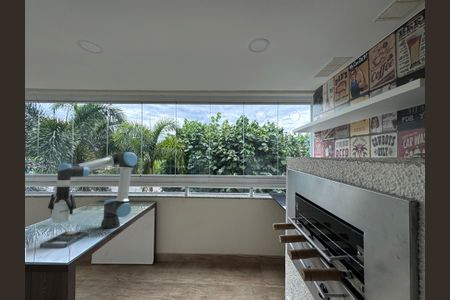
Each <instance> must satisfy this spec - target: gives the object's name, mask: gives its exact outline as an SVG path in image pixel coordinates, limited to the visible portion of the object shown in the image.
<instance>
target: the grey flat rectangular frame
mask: <svg viewBox="0 0 450 300" xmlns="http://www.w3.org/2000/svg"><path fill="white" fill-rule="evenodd" d="M70 231H71V230H70ZM70 231H68V230H67V231H64V232H62V233H59V234H58V235H55V236H53V237H52V238H49V239H47V240H45V241H43V242H41V243H40V244H39V248H43V249H44V248H45V249H46V248H47V249H48V248H50V249H51V248H52V249H53V248H54V249H57V248H58V249H60V248H61V249H62V248H63V249H66V248H68V247H70V246H71V245H73V244H75V243H76V242H78V241H80V240H81V239H83V238H85V237H87V236H88V235H89V231H80V230H79V231H77V232H78V237H65V233H67V232H70ZM56 242H57V243H56ZM58 242H59V243H58ZM62 242H63V243H62Z"/></svg>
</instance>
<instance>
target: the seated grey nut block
mask: <svg viewBox="0 0 450 300" xmlns="http://www.w3.org/2000/svg"><path fill="white" fill-rule="evenodd" d="M78 236H79V235H78V232H77V231H76V230H70V232H67V233H65V236H64V237H78Z"/></svg>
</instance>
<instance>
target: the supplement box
mask: <svg viewBox="0 0 450 300" xmlns="http://www.w3.org/2000/svg"><path fill="white" fill-rule="evenodd" d="M53 204H54V211H53V220H52V222H53V223H55V224H59V223H68V222H70V219H69V220H68V210H69V207H68V205H67V203H66V202H65V201H63V202H60V201H59V202H58V203H53Z"/></svg>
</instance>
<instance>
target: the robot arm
mask: <svg viewBox="0 0 450 300" xmlns="http://www.w3.org/2000/svg"><path fill="white" fill-rule="evenodd" d="M137 163H138V157H137V155H136V154H135V153H134V152H131V151H120V152H117V153H113V154H110V155H107V157H102V158H98V159H94V160H89V161H85V162H81V163H77V164H74V165H72V164H71V163H59V164H58V166H57V179H56V193H52V194H51V195H50V201H49V203H48V206H47V209H50V215H51V218H50V219H51V220H52V221H53V211H54V203H60V201H63V202H66V203H67V205H68V207H69V210H68V220H69V221H70V220H71V219H72V215H73V211H74V209H77V206H76V205H77V204H76V202H75V194H74V193H72V194H71V193H70V191H71V190H70V189H71V186H70V185H71V178H85V177H88V176H89V175H90V172H91V171H94V170H98V169H102V168H106V167H113V166H118V168H119V169H120V171H119V179H118V187H117V194H116V195H117V196H116V198H115V199H107V200H104V203H103V217H102V221H101V224H100V228H101V229H104V230H106V229H107V230H108V229H109V230H111V229H117V228H119V227H121V221H120V218H126V217H128V216H129V215H130V213H131V211H132V205H131V204H130V199H129V193H130V185H131V177H132V171H133V170H134V169H135V168H134V167H135V166H136V165H137Z"/></svg>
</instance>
